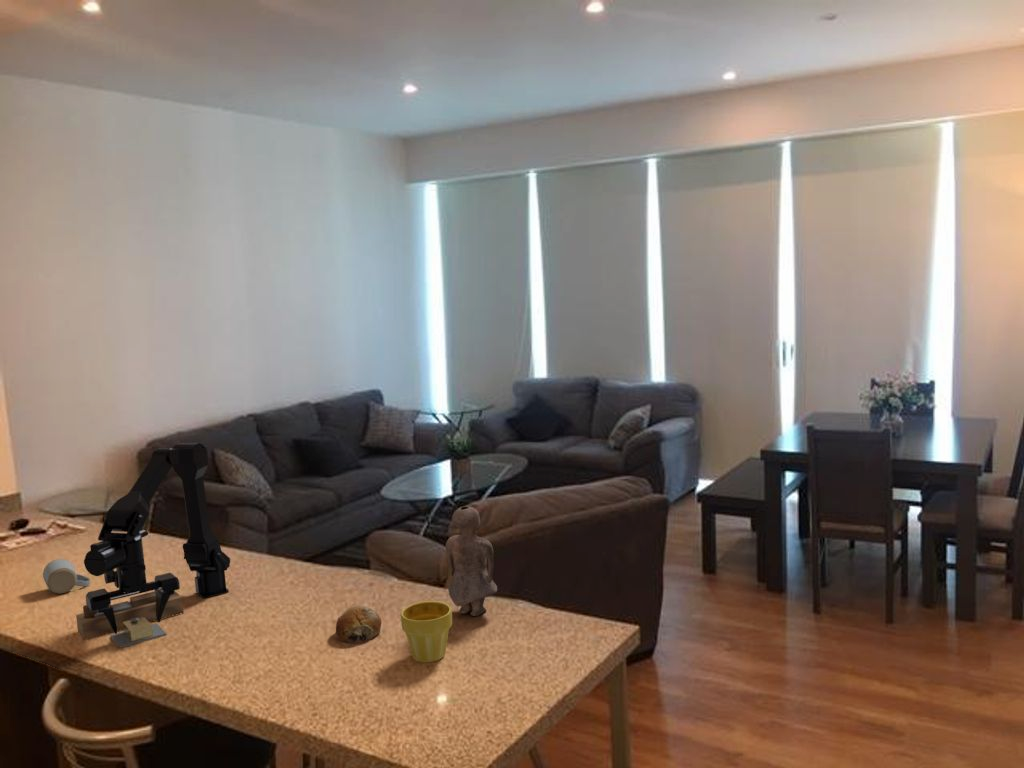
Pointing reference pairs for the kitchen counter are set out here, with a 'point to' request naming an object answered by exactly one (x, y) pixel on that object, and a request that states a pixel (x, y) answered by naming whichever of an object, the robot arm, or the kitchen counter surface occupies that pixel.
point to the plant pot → (427, 629)
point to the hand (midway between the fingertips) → (137, 627)
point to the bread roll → (358, 624)
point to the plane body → (126, 614)
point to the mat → (124, 641)
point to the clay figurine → (469, 563)
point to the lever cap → (137, 628)
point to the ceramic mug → (63, 576)
